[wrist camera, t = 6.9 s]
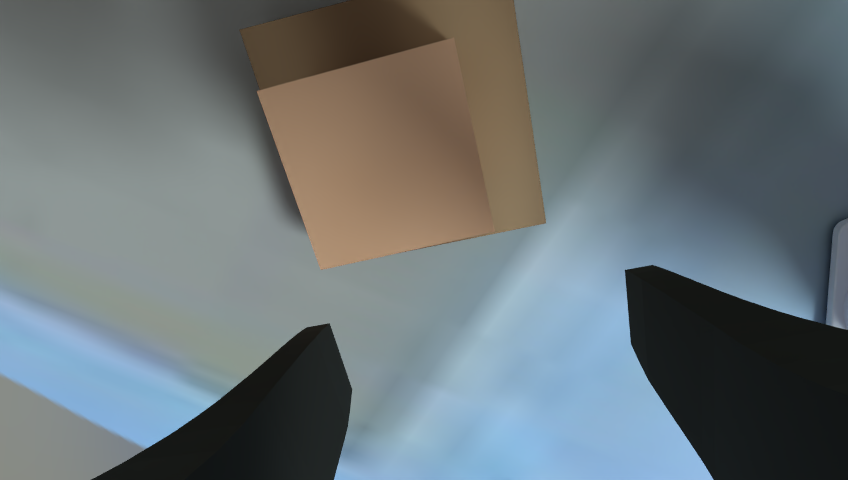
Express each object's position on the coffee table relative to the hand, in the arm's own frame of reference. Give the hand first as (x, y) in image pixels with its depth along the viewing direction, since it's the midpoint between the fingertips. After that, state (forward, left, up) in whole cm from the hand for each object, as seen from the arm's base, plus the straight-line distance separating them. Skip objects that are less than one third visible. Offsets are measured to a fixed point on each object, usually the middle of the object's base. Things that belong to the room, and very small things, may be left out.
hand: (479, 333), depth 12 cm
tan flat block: (+1, -4, -10) cm, 11 cm away
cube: (+2, -4, -7) cm, 8 cm away
